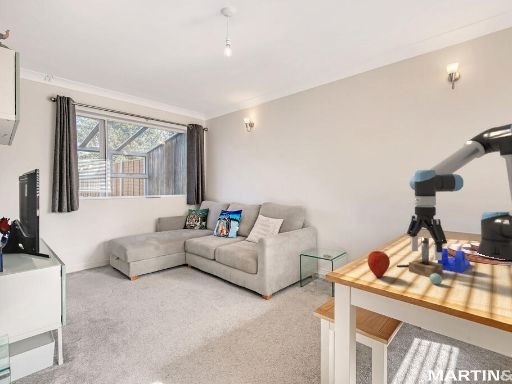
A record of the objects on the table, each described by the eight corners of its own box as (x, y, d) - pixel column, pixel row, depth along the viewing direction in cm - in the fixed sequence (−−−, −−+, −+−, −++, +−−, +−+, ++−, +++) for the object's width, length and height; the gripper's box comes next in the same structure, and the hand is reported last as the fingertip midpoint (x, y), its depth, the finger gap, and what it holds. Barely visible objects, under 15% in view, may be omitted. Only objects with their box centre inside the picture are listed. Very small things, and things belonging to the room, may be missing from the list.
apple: (392, 281, 101) (392, 254, 100) (369, 279, 103) (368, 253, 103) (387, 273, 109) (387, 249, 108) (366, 272, 111) (366, 248, 111)
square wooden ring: (420, 267, 115) (420, 259, 115) (442, 273, 108) (442, 264, 107) (408, 271, 111) (408, 262, 111) (431, 277, 103) (431, 268, 103)
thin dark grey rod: (425, 265, 119) (425, 263, 119) (427, 265, 118) (427, 264, 118) (396, 266, 118) (396, 265, 118) (397, 267, 117) (397, 265, 117)
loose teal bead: (436, 281, 99) (436, 271, 99) (445, 285, 95) (445, 275, 95) (427, 282, 99) (427, 272, 99) (434, 286, 95) (434, 275, 95)
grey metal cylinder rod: (426, 271, 111) (425, 237, 110) (430, 273, 108) (430, 238, 108) (420, 271, 111) (419, 237, 110) (424, 273, 108) (424, 238, 107)
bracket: (460, 274, 107) (460, 252, 107) (437, 269, 114) (437, 249, 113) (471, 264, 118) (471, 245, 118) (450, 260, 125) (450, 242, 125)
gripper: (398, 204, 121) (398, 248, 121) (439, 209, 96) (439, 264, 96) (413, 203, 121) (413, 247, 122) (458, 208, 96) (458, 263, 97)
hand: (425, 255), depth 109 cm, fingers open, 13 cm apart
